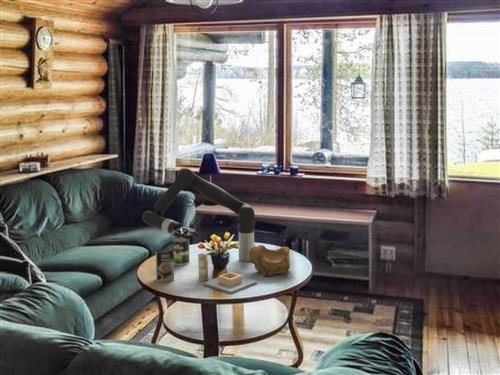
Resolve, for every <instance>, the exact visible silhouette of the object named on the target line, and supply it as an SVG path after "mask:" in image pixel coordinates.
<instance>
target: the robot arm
mask: <svg viewBox="0 0 500 375" xmlns="http://www.w3.org/2000/svg"><path fill="white" fill-rule="evenodd" d="M187 186H188V187H191V188H193V189H194V190H196V191H197V192H198V193H200V194H201V195H202V196H204V197H205V198H206V199H208V200H210V201H211V202H213V204H216V205H218V206H221V207H224V208H227V209H228V210H230V211H231V212H233V213H234V214H236V215H237V216H238V246H239V245H240V248H239V247H238V261H240V262H246V263H247V262H248V263H249V262H250V260H249V251H250V250H251V248H253V247H256V243H255V225H256V224H255V220H256V219H255V218H256V217H255V216H256V214H255V210H254V209H253V207H252V205H249V204H248V203H246V202H243V201H241V200H239V199H237V198H235V197H234V196H233V195H231V194H230V193H229V192H228V191H226V190H224V189H223V188H221V187H220V186H218V185H216V184H214V183H213V182H210V181H208V180H205V179H204V178H202V177H200V176H198V175H197V174H196V173H195V172H193V170H191V169H190V168H189V167H181V168H180V169H178V171H177V174H176V178H175V179H174V180H173V182H172V183H171V185H170V186H169V188H167V189H166V190H165V192H163V194H161V196H160V197H159V198H158V199H157V200H156V202H155V203H154V205H153V208H154V212H153V211H150V210H146V211H144V212H143V213H142V216H141V219H142V221H143V222H144V223H145V224H147V225H149V226H150V227H155V228H157V229H158V230H161V231H164V232H165V233H167V234H169V235H171V236H174V238H180V237H181V238H185V239H189V240H190V235H191V236H194V237H197V238H198V237H200V233H199V232H197V231H196V228H192V227H189V226H187V227H184V226H183V225H182V224H181V223H180V222H178V221H175V220H173V219H170V218H167V217H164V216H163V215H164V212H165V211H166V210H167V209H168V208H169V206H170V205H171V204H172V203H173V201H174V200H175V199H176V198H177V196H178V195H179V194H180V193H181V191H183V189H184V188H186V187H187Z"/></svg>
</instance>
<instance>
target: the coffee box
mask: <svg viewBox="0 0 500 375" xmlns="http://www.w3.org/2000/svg"><path fill="white" fill-rule="evenodd" d="M155 271H156V272H155V275H156V276H155V277H156V281H157V282H158V283H160V282H161V283H163V282H164V283H165V282H172V281H175V264H174V252H173V250H172V248H169V249H155Z"/></svg>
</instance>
